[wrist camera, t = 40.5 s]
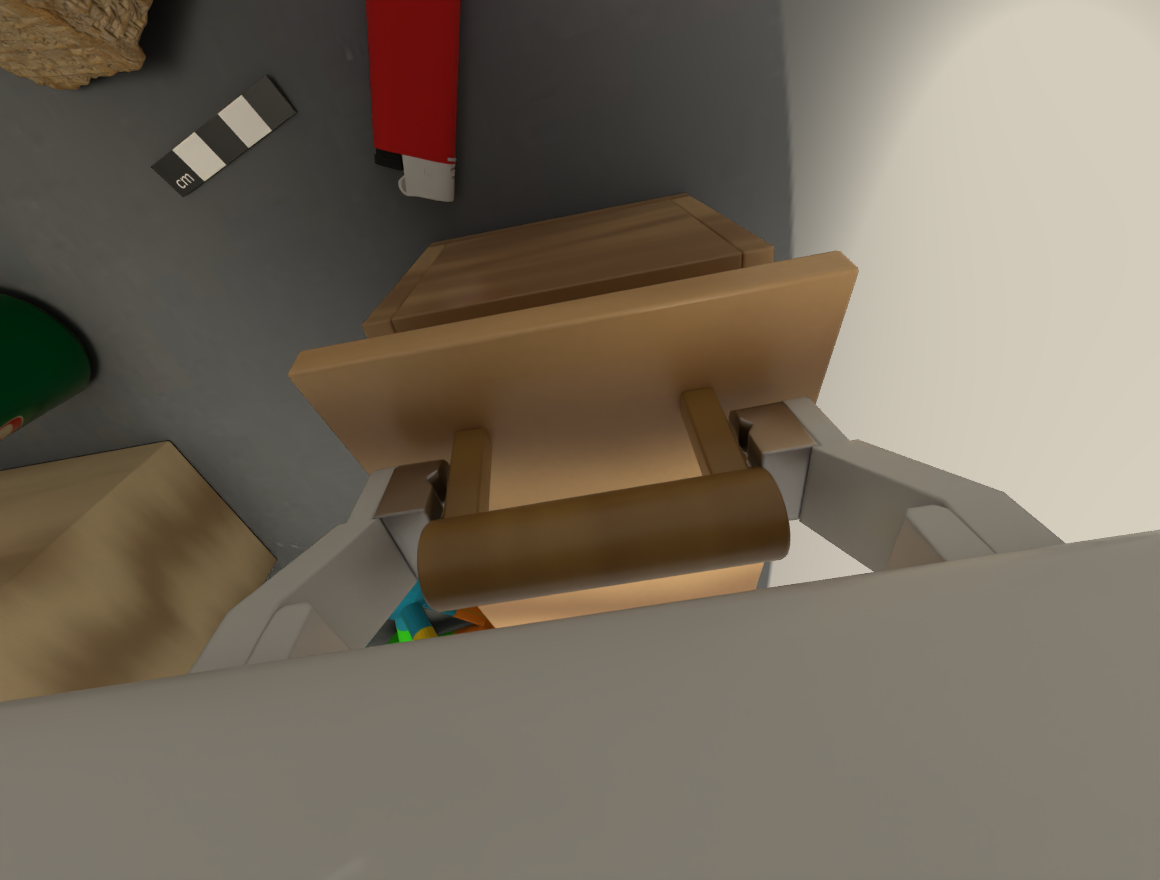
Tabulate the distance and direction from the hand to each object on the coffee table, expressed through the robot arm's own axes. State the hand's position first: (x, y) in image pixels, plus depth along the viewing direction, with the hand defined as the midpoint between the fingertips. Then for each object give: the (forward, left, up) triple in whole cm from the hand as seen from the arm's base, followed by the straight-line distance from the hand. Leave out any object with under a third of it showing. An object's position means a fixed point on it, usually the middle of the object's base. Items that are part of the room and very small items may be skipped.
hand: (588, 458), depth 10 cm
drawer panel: (+4, 0, -2) cm, 5 cm away
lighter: (-8, -4, -13) cm, 16 cm away
